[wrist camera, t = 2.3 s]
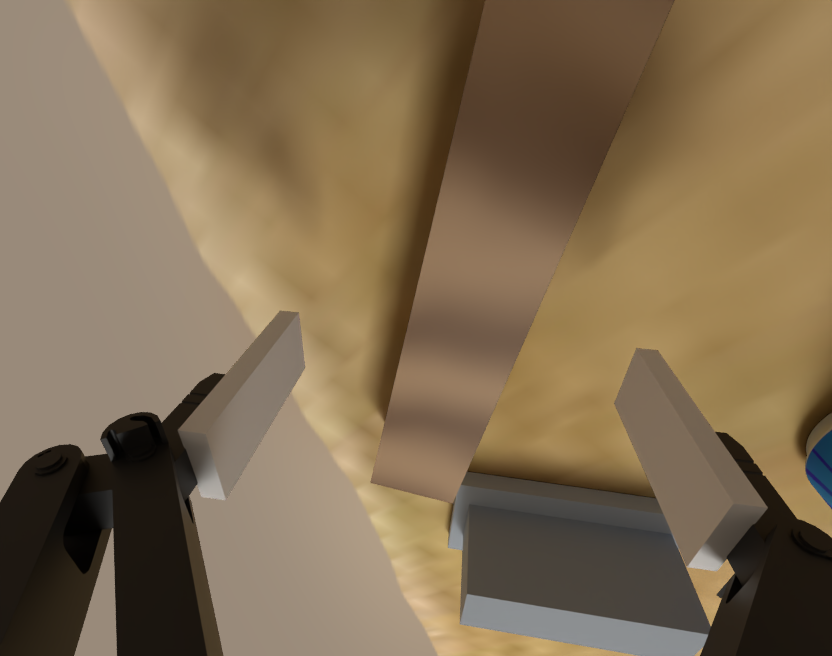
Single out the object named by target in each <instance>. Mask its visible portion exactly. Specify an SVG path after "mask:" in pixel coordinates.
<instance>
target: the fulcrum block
mask: <svg viewBox="0 0 832 656" xmlns="http://www.w3.org/2000/svg"><path fill="white" fill-rule="evenodd" d="M448 548H452V549H458V550H463V551H462V579H461V607H460V624H461V625H467V626H473V627H478V628H484V629H490V630H496V631H501V632H507V633H513V634H518V635H524V636H530V637H536V638H541V639H547V640H553V641H559V642H564V643H570V644H576V645H581V646H587V647H593V648H599V649H604V650H610V651H616V652H621V653H627V654H633V655H639V656H694V655H695V654H696V653H697V652H698V651H699V650H700V649H701V648H702V647H703V646H704V644H705V642H706V639H707V637H708V634H709V631H710V629H711V626H710V624H709V621H708V619H707V617H706V614H705V612H704V610H703V607H702V605H701V602H700V600H699V598H698V595H697V593H696V590H695V588H694V586H693V583H692V581H691V579H690V576H689V574H688V571H687V569H686V567H685V564H684V562H683V560H682V557H681V555H680V552H679V550H678V549H679V548H678V545H677V543H676V541H675V539H674V536H673V534H672V532H671V530H670V527H669V525H668V523H667V521H666V519H665V516H664V514H663V512H662V510H661V507H660V505H659V503H658V501H657V498H650V497H643V496H636V495H629V494H622V493H615V492H608V491H601V490H594V489H586V488H579V487H572V486H565V485H558V484H551V483H544V482H537V481H530V480H523V479H516V478H509V477H502V476H495V475H488V474H481V473H474V472H466V474H465V477H464V479H463V481H462V483H461V486H460V488H459V490H458V493H457V495H456V497H455V499H454V504H453V511H452V517H451V523H450V529H449V538H448Z"/></svg>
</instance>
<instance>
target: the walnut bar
mask: <svg viewBox="0 0 832 656" xmlns="http://www.w3.org/2000/svg"><path fill="white" fill-rule="evenodd" d="M673 3H674V0H485V4H484V8H483V12H482V16H481V20H480V25H479V29H478V33H477V37H476V41H475V46H474V50H473V54H472V58H471V62H470V67H469V71H468V75H467V79H466V83H465V88H464V92H463V96H462V100H461V104H460V109H459V113H458V117H457V121H456V125H455V130H454V134H453V138H452V142H451V146H450V151H449V155H448V159H447V163H446V167H445V172H444V176H443V180H442V184H441V188H440V193H439V197H438V201H437V205H436V209H435V214H434V218H433V222H432V226H431V230H430V235H429V239H428V243H427V247H426V251H425V256H424V260H423V264H422V268H421V272H420V277H419V281H418V285H417V289H416V294H415V298H414V302H413V306H412V310H411V315H410V319H409V323H408V327H407V331H406V336H405V340H404V344H403V348H402V352H401V357H400V361H399V365H398V369H397V373H396V378H395V382H394V386H393V390H392V394H391V399H390V403H389V407H388V411H387V415H386V420H385V424H384V428H383V432H382V436H381V441H380V445H379V449H378V453H377V457H376V462H375V466H374V470H373V474H372V478H371V483H373V484H377V485H381V486H385V487H389V488H393V489H397V490H401V491H405V492H409V493H413V494H417V495H421V496H425V497H429V498H433V499H437V500H441V501H445V502H449V503H452V504H453V502H454V499H455V497H456V495H457V493H458V490H459V488H460V486H461V483H462V481H463V479H464V477H465V474H466V472H467V470H468V468H469V465H470V463H471V461H472V459H473V456H474V454H475V452H476V449H477V447H478V445H479V443H480V440H481V438H482V436H483V434H484V431H485V429H486V427H487V425H488V422H489V420H490V418H491V415H492V413H493V411H494V409H495V406H496V404H497V402H498V400H499V397H500V395H501V393H502V390H503V388H504V386H505V384H506V381H507V379H508V377H509V375H510V372H511V370H512V368H513V366H514V363H515V361H516V359H517V356H518V354H519V352H520V350H521V347H522V345H523V343H524V341H525V338H526V336H527V334H528V332H529V329H530V327H531V325H532V322H533V320H534V318H535V316H536V313H537V311H538V309H539V307H540V304H541V302H542V300H543V297H544V295H545V293H546V291H547V288H548V286H549V284H550V282H551V279H552V277H553V275H554V273H555V270H556V268H557V266H558V263H559V261H560V259H561V257H562V254H563V252H564V250H565V248H566V245H567V243H568V241H569V239H570V236H571V234H572V232H573V229H574V227H575V225H576V223H577V220H578V218H579V216H580V214H581V211H582V209H583V207H584V205H585V202H586V200H587V198H588V195H589V193H590V191H591V189H592V186H593V184H594V182H595V180H596V177H597V175H598V173H599V170H600V168H601V166H602V164H603V161H604V159H605V157H606V155H607V152H608V150H609V148H610V146H611V143H612V141H613V139H614V136H615V134H616V132H617V130H618V127H619V125H620V123H621V121H622V118H623V116H624V114H625V112H626V109H627V107H628V105H629V102H630V100H631V98H632V96H633V93H634V91H635V89H636V87H637V84H638V82H639V80H640V78H641V75H642V73H643V71H644V68H645V66H646V64H647V62H648V59H649V57H650V55H651V53H652V50H653V48H654V46H655V43H656V41H657V39H658V37H659V34H660V32H661V30H662V28H663V25H664V23H665V21H666V19H667V16H668V14H669V12H670V9H671V7H672V5H673Z"/></svg>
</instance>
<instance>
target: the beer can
mask: <svg viewBox="0 0 832 656" xmlns="http://www.w3.org/2000/svg"><path fill="white" fill-rule="evenodd" d="M806 453H807V458H806V462H805V471H806V475H807V478H808V480H809V481H810V483H811V484H812V485H813V487H814V488H815V489H816V490H817V492H818V493H819V494H820V495H821V496H822V498H823V499H824V500H825V501H826V503H827V504H828V505H829V506H830V507H831V509H832V412H831V413H830V414H829V415H827V416H826V417H825V418H824V419H822V420H821V421H820V422H819V423H818V424H817V425H816V426H815V428H814V429H813V430H812V432H811V433H810V435H809V437H808V440H807V444H806Z"/></svg>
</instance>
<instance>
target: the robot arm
mask: <svg viewBox="0 0 832 656" xmlns="http://www.w3.org/2000/svg"><path fill="white" fill-rule="evenodd" d="M304 369H305V361H304V353H303V344H302V335H301V327H300V318H299V312H289V311H280V312H279V313H278V314H277V315H276V316H275V318H274V319H273V320H272V321H271V322H270V323H269V324H268V326H267V327H266V328H265V329H264V330H263V331H262V333H261V334H260V335H259V336H258V337H257V338H256V340H255V341H254V342H253V343H252V344H251V345H250V347H249V348H248V349H247V350H246V351H245V352H244V354H243V355H242V356H241V357H240V358H239V360H238V361H237V362H236V363H235V364H234V365H233V367H232V368H231V369H230V370H229V371H228V372H227V373H226V374H218V373H214V374H212V375H210V376H209V377H207V378H205V379H204V380H202V381H200V382H199V383H198V384H197V385H196V386H195V388H194V389H193V390H192V391H191V392H190V395H189V394H188V395H187V396H186V397H185V398H184V400H183V401H182V403H180V404H179V405H178V406H177V407H176V408H175V409H174V410H173V411H172V412H171V414H170V415H169V416H168V417H167V418H166V419H165V420H164V421H163V422H162V423H161V421H160V419H159V418H158V416H157V415H155V414H152V413H148V412H140V413H135V414H130V415H127V416H125V417H122V418H120V419H118V420H116V421H115V422H114V423H112V424H110V425H109V426H108V427H107V428H106V429H105V431H104V432H103V433H102V436H101V439H100V440H101V442H102V444H103V446H104V448H105V450H106V452H107V454H102V455H94V456H86V457H85V456H84V454H83V453H82V451H81V450H80V448H79V447H78V446H75V445H71V444H69V445H58V446H55V447H52V448H48V449H46V450H44V451H42V452H40V453H38V454H36V455H34V456H33V457H32V458H30V459H29V460H28V461H26V462H25V463H24V464H23V466H22V467H21V468H20V469H19V471H18V472H17V474H16V476H15V478H14V479H13V481H12V483H11V485H10V486H9V488H8V490H7V492H6V493H5V495H4V497H3V498H2V500H1V502H0V656H74V654H75V651H76V647H77V644H78V641H79V637H80V634H81V631H82V627H83V624H84V620H85V617H86V614H87V610H88V607H89V603H90V600H91V597H92V593H93V590H94V587H95V583H96V580H97V577H98V573H99V570H100V566H101V563H102V560H103V556H104V553H105V550H106V546H107V543H108V539H109V536H110V532H111V529H112V528H113V529H114V562H115V564H114V565H115V598H116V629H117V630H116V633H117V656H223V652H222V647H221V642H220V637H219V632H218V628H217V623H216V618H215V613H214V608H213V604H212V599H211V594H210V589H209V585H208V580H207V575H206V570H205V566H204V561H203V556H202V551H201V546H200V541H199V537H198V532H197V527H196V522H195V517H194V513H193V508H192V503H191V500H190V497H189V495H190V494H191V492H192V491H193V489H194V488H195V486H196V485H198V488H199V491H200V494H201V497H206V498H213V499H220V500H227V498H228V496H229V494H230V493H231V491H232V489H233V488H234V486H235V484H236V483H237V481H238V479H239V478H240V476H241V474H242V473H243V471H244V469H245V468H246V466H247V464H248V463H249V461H250V459H251V458H252V456H253V454H254V453H255V451H256V449H257V448H258V446H259V444H260V442H261V441H262V439H263V437H264V435H265V434H266V432H267V431H268V429H269V427H270V426H271V424H272V422H273V421H274V419H275V417H276V416H277V414H278V412H279V411H280V409H281V407H282V406H283V404H284V402H285V401H286V399H287V397H288V396H289V394H290V392H291V391H292V389H293V387H294V386H295V384H296V382H297V381H298V379H299V377H300V375H301V374H302V372H303V370H304ZM614 404H615V406H616V409H617V411H618V413H619V415H620V418H621V420H622V422H623V424H624V427H625V429H626V431H627V433H628V436H629V438H630V440H631V442H632V445H633V447H634V449H635V451H636V453H637V456H638V458H639V460H640V462H641V465H642V467H643V469H644V471H645V474H646V476H647V478H648V480H649V483H650V485H651V487H652V489H653V492H654V494H655V496H656V498H657V501H658V503H659V505H660V507H661V510H662V512H663V514H664V516H665V519H666V521H667V523H668V525H669V527H670V530H671V532H672V534H673V536H674V539H675V541H676V543H677V545H678V548H679V550H680V552H681V554H682V557H683V559H684V561H685V563H686V566H687V567H691V568H698V569H705V570H711V571H717V570H718V569H719V568H720V567H721V565H722V564H723V563H724V562H725V560H726V559H728V561H729V563H730V565H731V566H732V568H733V570H734V572H735V574H734V575H733V576H732V577H731V578H730V580H729V581H728V582H727V583H726V584H725V585H724V587H723V588H722V589H721V590H720V591H719V592H718V594H717V596H719V597H720V598H722V600H721V603H720V605H719V608H718V610H717V613H716V616H715V618H714V621H713V624H712V626H711V629H710V631H709V634H708V637H707V639H706V642H705V644H704V647H703V650H702V652H701V655H700V656H832V538H831V537H830V536H829V535H828V534H826V533H825V532H823V531H822V530H820V529H819V528H817V527H816V526H813V525H811V524H809V523H807V522H805V521H802V520H798V519H797V518H796V517H795V515H794V514H793V513H792V511H791V510H790V509H789V507H788V506H787V505H786V503H785V502H784V501H783V499H782V498H781V497H780V495H779V494H778V493H777V491H776V490H775V489H774V487H773V486H772V485H771V483H770V482H769V481H768V479H767V478H766V477H765V476H763V475H762V471H761V470H760V469H759V467H758V466H757V465H756V464H754V461H753V459H752V458H751V457H750V455H749V454H748V453H747V451H746V450H745V449H744V447H743V446H742V445H740V444H739V443H738V442H737V441H736V440H734V439H733V438H732V437H731V436H729V435H728V434H727V433H721V432H715V431H714V430H713V429H712V427H711V426H710V424H709V423H708V421H707V420H706V419H705V417H704V416H703V414H702V413H701V411H700V410H699V409H698V407H697V406H696V404H695V403H694V401H693V400H692V399H691V397H690V396H689V394H688V393H687V392H686V390H685V389H684V387H683V386H682V384H681V383H680V382H679V380H678V379H677V377H676V376H675V374H674V373H673V372H672V370H671V369H670V367H669V366H668V364H667V363H666V362H665V360H664V359H663V357H662V356H661V354H660V353H659V352H658V350H650V349H641V348H636V351H635V353H634V356H633V358H632V360H631V363H630V365H629V368H628V370H627V373H626V375H625V378H624V380H623V383H622V385H621V388H620V390H619V393H618V395H617V398H616V400H615V403H614Z"/></svg>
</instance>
